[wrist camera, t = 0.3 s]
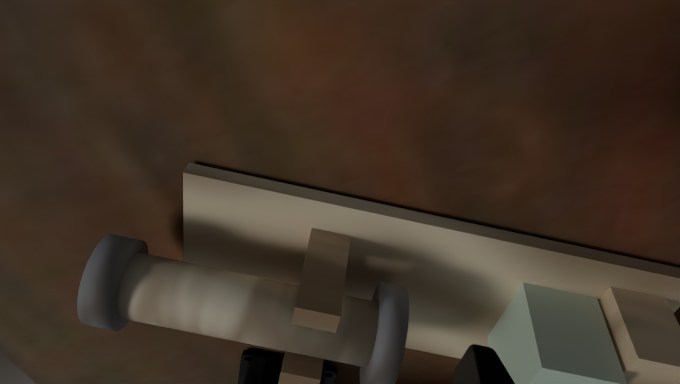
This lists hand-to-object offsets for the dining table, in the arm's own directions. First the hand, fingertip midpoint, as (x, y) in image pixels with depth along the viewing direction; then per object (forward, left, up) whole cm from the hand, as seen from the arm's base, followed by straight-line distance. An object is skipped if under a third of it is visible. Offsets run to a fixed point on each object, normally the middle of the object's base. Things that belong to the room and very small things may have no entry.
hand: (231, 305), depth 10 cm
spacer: (-13, -14, -13) cm, 24 cm away
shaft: (-13, +1, -12) cm, 18 cm away
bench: (-13, -8, -14) cm, 21 cm away
